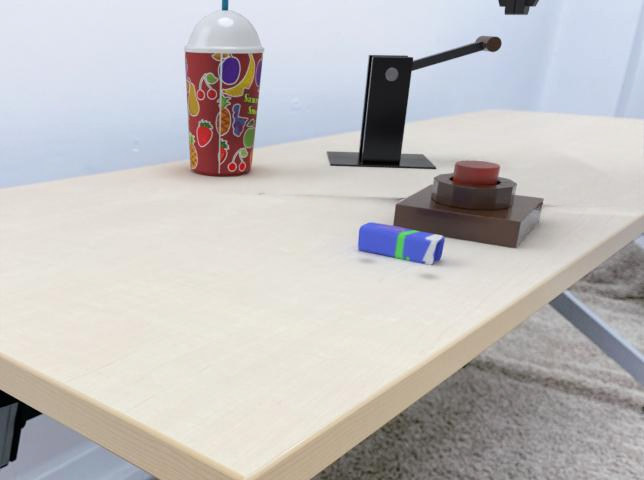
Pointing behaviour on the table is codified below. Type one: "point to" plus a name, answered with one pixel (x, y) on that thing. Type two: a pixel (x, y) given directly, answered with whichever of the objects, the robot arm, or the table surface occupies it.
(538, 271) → the table surface
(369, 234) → the eraser
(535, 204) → the button block
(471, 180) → the button
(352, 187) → the table surface
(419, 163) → the bracket
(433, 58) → the lever
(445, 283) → the table surface
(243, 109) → the smoothie
